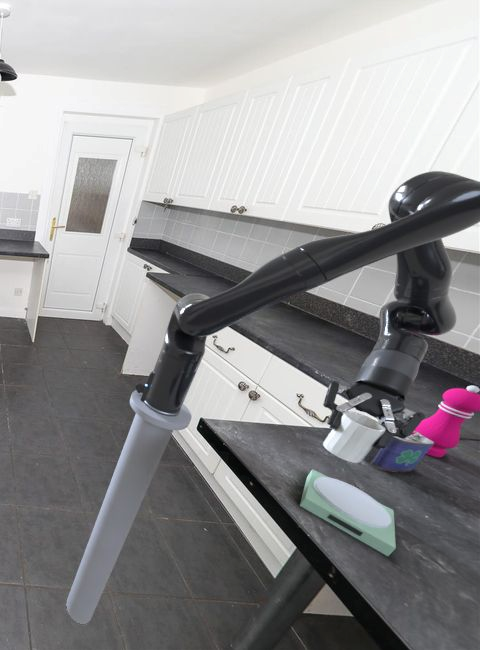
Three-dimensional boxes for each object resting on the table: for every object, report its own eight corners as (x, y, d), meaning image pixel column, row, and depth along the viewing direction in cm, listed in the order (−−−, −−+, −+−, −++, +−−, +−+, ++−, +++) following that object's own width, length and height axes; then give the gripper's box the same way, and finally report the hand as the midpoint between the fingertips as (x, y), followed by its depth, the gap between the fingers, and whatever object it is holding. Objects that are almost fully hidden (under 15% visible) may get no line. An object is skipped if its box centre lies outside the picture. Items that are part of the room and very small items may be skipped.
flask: (402, 463, 82) (430, 430, 77) (417, 473, 79) (446, 439, 75) (366, 460, 81) (392, 427, 77) (380, 470, 79) (407, 436, 74)
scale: (299, 506, 67) (307, 495, 66) (307, 476, 75) (314, 466, 74) (387, 557, 59) (398, 546, 58) (386, 518, 67) (396, 507, 65)
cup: (321, 449, 74) (343, 418, 71) (324, 437, 78) (344, 407, 75) (360, 467, 70) (385, 435, 67) (361, 454, 74) (385, 423, 70)
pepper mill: (419, 439, 91) (469, 378, 83) (454, 460, 84) (512, 397, 77) (394, 436, 91) (441, 376, 83) (427, 457, 84) (482, 394, 77)
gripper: (346, 353, 76) (314, 413, 73) (448, 385, 66) (415, 456, 63) (335, 365, 81) (305, 422, 79) (428, 397, 71) (397, 463, 69)
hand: (354, 437), depth 71 cm, fingers closed on cup, 6 cm apart
